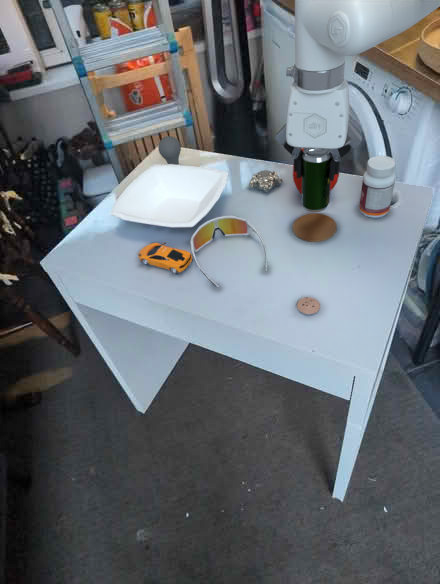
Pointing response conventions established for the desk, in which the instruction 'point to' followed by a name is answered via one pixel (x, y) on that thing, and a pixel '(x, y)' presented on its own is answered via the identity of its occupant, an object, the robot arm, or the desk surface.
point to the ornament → (265, 180)
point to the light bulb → (170, 149)
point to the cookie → (308, 305)
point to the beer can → (316, 179)
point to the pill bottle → (377, 186)
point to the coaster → (314, 227)
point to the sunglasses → (227, 228)
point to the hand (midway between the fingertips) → (316, 174)
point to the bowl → (171, 195)
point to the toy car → (165, 257)
